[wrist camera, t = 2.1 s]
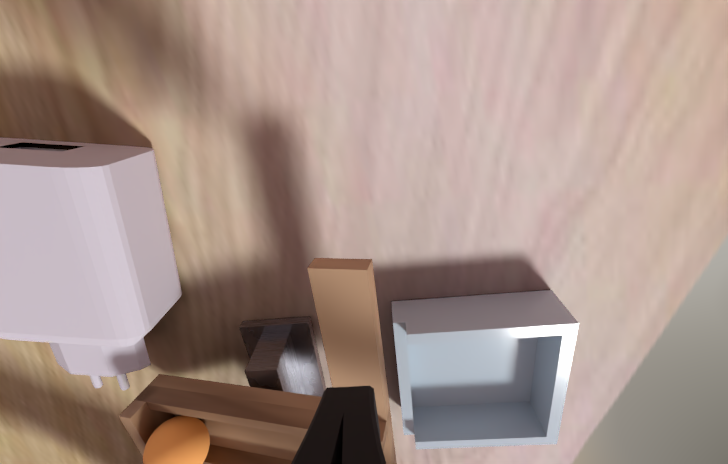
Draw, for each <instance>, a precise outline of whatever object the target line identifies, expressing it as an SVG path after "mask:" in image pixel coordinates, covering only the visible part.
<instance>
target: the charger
mask: <svg viewBox="0 0 728 464" xmlns="http://www.w3.org/2000/svg"><path fill="white" fill-rule="evenodd" d="M21 142H26V143H41V144H56V145H71V146H84V147H80V148H75V149H71V150H60V149H45V148H29V147H17V148H0V338H2V339H8V340H21V341H36V342H49V344H50V346H51V349H52V351H53V353H54V356H55V358H56V360H57V363H58V364H59V365H60V366H61V367H63V368H64V369H65V370H66V371H68V372H69V373H70V374H78V375H89V376H90V378H91V381H92V384H93V386H94V388H100V387H101V386H103V382H102V380H101V377H100V376H107V377H112V376H117V379H118V382H119V385H120V388H121V390H127V389H128V388H129V387H130V385H129V382H128V379H127V376H126V373H129V372H133V371H137V370H141V369H143V368H145V367H147V366H149V365H151V364H150V360H149V356H148V352H147V349H146V345H145V341H144V338H143V337H144V336H145V335H146V334H147V333H148V332H149V331H151V330H152V328H153V327H154V326H155V325H156V324H157V323H158V322H159V321H160V319H161V318H162V317H163V316H164V315H165V314H166V313H167V312H168V310H169V309H170V308H171V307H172V306H173V305H174V304H175V303H176V302H177V300H178V299H179V298H180V297H181V295H182V290H181V285H180V280H179V275H178V270H177V265H176V260H175V255H174V250H173V245H172V240H171V234H170V229H169V224H168V219H167V214H166V209H165V204H164V199H163V194H162V189H161V184H160V179H159V174H158V169H157V163H156V158H155V153H154V149H152V148H149V147H137V146H123V145H108V144H93V143H78V142H63V141H48V140H33V139H18V138H2V137H0V146H5V145H10V144H16V143H21Z"/></svg>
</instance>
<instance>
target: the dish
mask: <svg viewBox="0 0 728 464" xmlns="http://www.w3.org/2000/svg"><path fill="white" fill-rule="evenodd" d="M391 302H392V318H393V330H394V340H395V350H396V360H397V370H398V380H399V390H400V400H401V410H402V420H403V430H404V435H410V434H415V444H416V449H436V448H463V447H489V446H516V445H543V444H557V441H558V435H559V430H560V424H561V419H562V413H563V408H564V402H565V397H566V391H567V386H568V380H569V375H570V369H571V364H572V358H573V353H574V347H575V342H576V336H577V331H578V325H579V323H578V322H577V321H576V319H575V318H574V317H573V316H572V315H571V313H570V312H569V311H568V310H567V308H566V307H565V306H564V305H563V304H562V302H561V301H560V300H559V299H558V297H557V296H556V295H555V294H554V293H553V291H552V290H542V291H528V292H515V293H501V294H487V295H473V296H460V297H446V298H432V299H418V300H405V301H391Z"/></svg>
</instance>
